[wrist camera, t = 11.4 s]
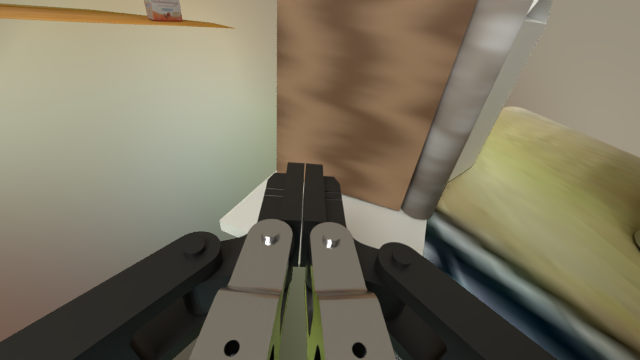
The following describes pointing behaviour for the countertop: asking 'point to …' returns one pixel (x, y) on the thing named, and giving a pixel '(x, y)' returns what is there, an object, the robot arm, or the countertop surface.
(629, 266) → the countertop surface
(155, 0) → the cracker box
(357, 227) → the base plate
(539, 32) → the milk carton
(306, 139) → the brown wooden slab
